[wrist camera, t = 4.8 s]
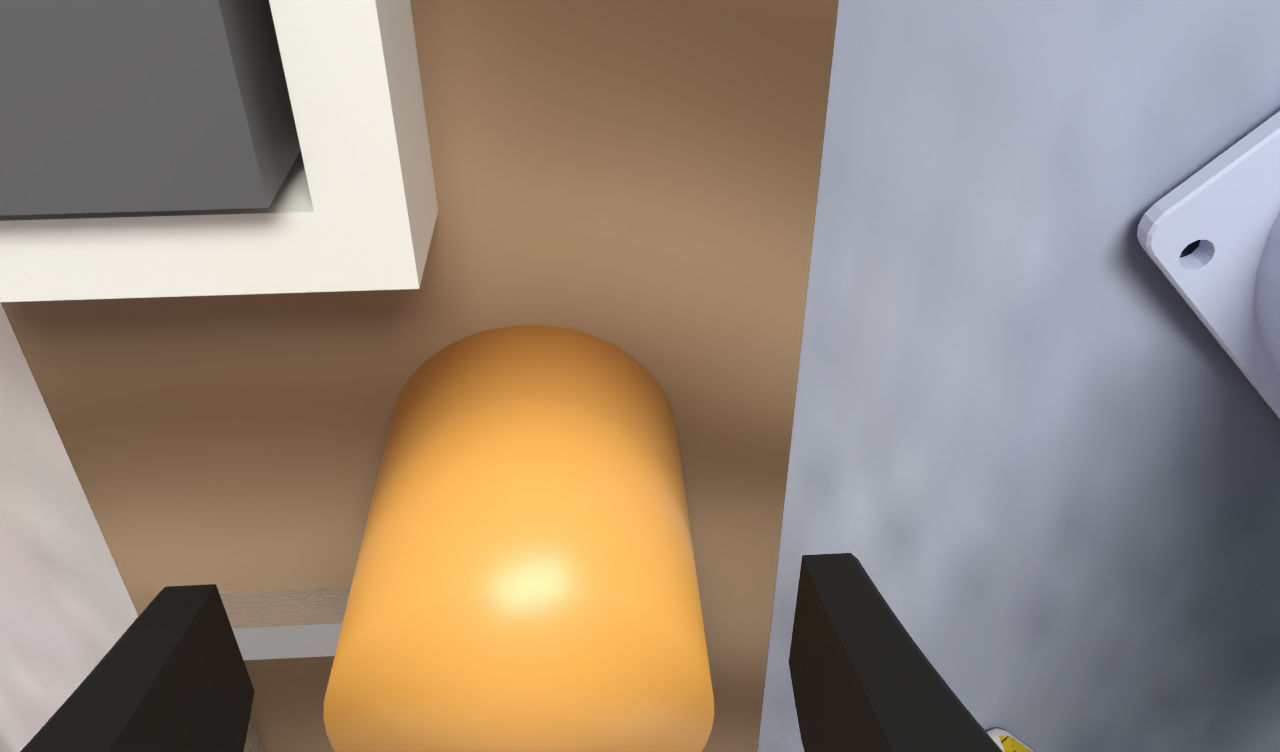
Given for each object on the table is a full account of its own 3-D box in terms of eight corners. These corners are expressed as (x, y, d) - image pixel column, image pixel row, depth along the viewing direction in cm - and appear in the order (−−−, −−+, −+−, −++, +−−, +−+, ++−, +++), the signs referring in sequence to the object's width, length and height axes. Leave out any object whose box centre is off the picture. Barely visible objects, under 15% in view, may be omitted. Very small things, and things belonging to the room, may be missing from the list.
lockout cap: (735, 436, 16) (792, 710, 11) (546, 584, 17) (539, 867, 13) (519, 268, 14) (499, 525, 10) (331, 452, 15) (245, 737, 11)
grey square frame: (638, 832, 22) (640, 867, 21) (263, 852, 22) (254, 890, 21) (635, 573, 17) (638, 609, 17) (156, 595, 17) (140, 632, 16)
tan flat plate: (738, 775, 23) (747, 836, 22) (264, 801, 23) (247, 865, 22) (860, -541, 10) (899, -569, 9) (-263, -546, 10) (-385, -576, 8)
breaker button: (316, 120, 12) (268, 207, 10) (31, 128, 12) (-75, 217, 10) (252, -200, 10) (176, -169, 8) (-91, -196, 10) (-251, -163, 8)
